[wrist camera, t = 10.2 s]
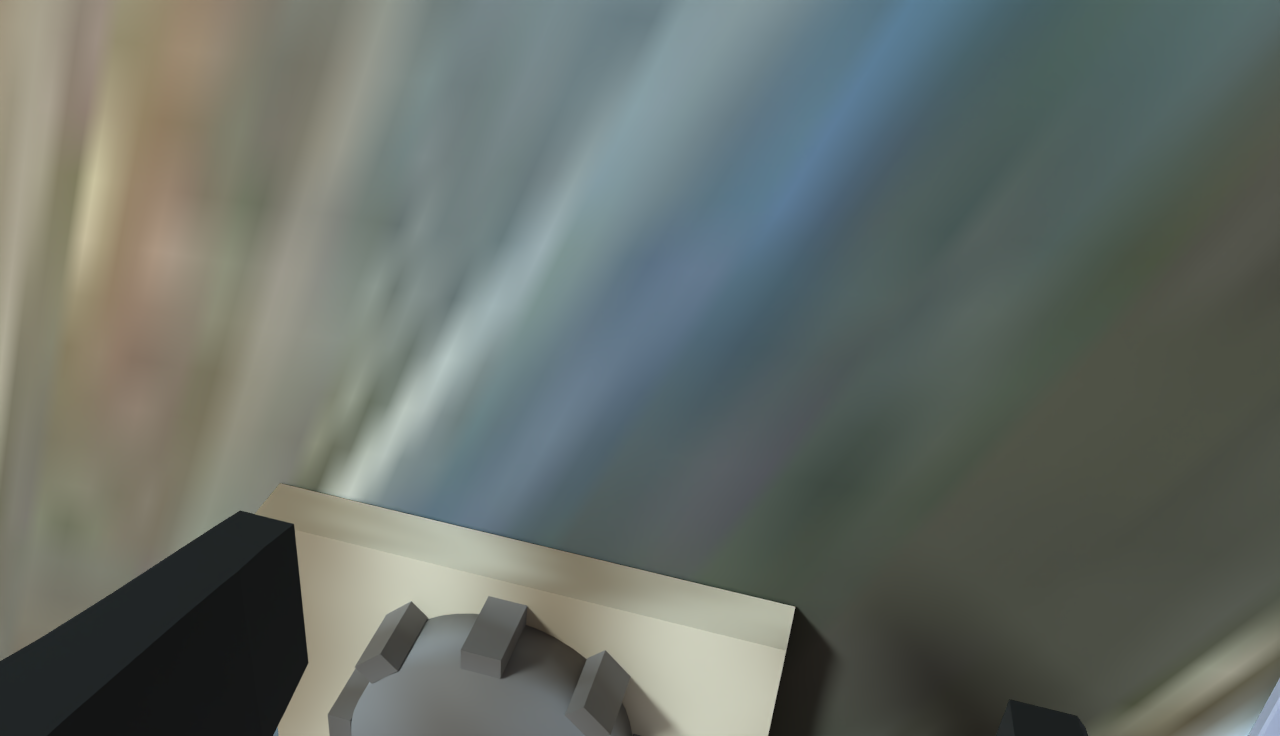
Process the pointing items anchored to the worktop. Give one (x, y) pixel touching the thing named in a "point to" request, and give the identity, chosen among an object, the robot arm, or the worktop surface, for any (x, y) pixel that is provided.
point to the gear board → (512, 636)
